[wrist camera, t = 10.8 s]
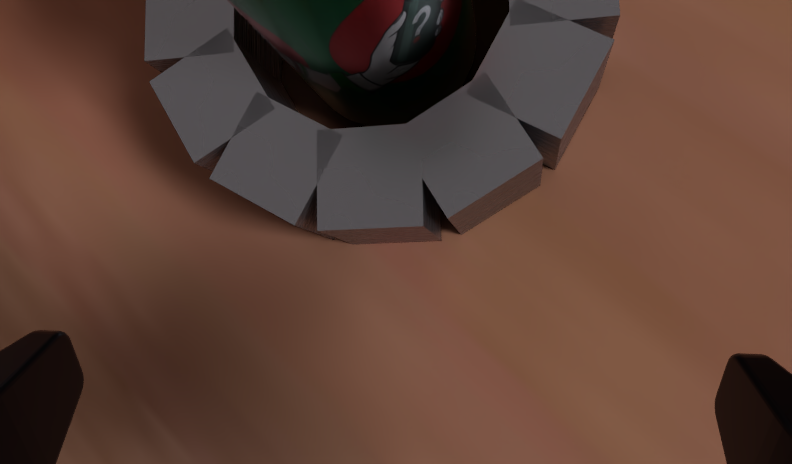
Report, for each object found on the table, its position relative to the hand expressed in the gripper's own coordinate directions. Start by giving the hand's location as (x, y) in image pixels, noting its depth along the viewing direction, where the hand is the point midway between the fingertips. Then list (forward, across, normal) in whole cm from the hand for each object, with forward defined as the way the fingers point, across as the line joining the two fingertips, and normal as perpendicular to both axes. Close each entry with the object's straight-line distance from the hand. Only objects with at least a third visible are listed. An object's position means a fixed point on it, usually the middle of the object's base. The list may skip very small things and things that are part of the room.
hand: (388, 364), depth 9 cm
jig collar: (+13, +1, 0) cm, 13 cm away
